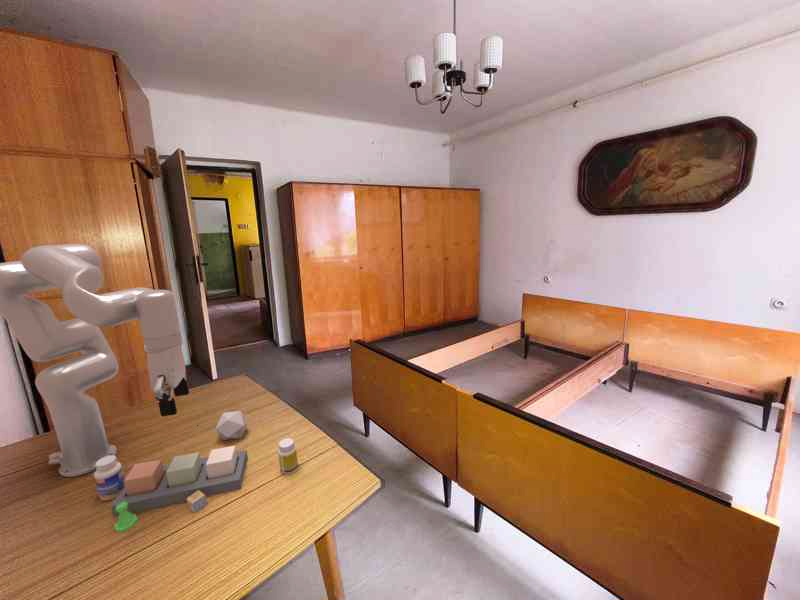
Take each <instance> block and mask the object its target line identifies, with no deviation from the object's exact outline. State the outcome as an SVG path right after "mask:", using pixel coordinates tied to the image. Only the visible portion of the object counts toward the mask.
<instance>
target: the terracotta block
mask: <svg viewBox="0 0 800 600" xmlns="http://www.w3.org/2000/svg"><path fill="white" fill-rule="evenodd" d="M163 466H164V464H163V461H162V459H156V460H149V461H145V462H141V463H135V464H134V465H133V467H132V468H131V470H130V471H129V473H128V474H127V475H126V477H125V480H124V485H125V489H126V493H127V496H131V495H136V494H141V493H145V492H150V491H155V490H157V489H158V487H159V485H160V483H161V481H162V479H163V477H164V476H165V473H164V468H163Z"/></svg>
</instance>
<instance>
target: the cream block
mask: <svg viewBox="0 0 800 600" xmlns="http://www.w3.org/2000/svg"><path fill="white" fill-rule="evenodd" d="M236 452H237V448H236V445H232V446H231V445H230V446H226V447H221V448H215V449H211V450H210V453H209V455H208V457H209V458H208V460H207V463H206V469H207V474H208V479H213V478H217V477H222V476H227V475H232V474H235V472H236V468H237V466H236V465H237V461H238V460H237V453H236Z"/></svg>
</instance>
